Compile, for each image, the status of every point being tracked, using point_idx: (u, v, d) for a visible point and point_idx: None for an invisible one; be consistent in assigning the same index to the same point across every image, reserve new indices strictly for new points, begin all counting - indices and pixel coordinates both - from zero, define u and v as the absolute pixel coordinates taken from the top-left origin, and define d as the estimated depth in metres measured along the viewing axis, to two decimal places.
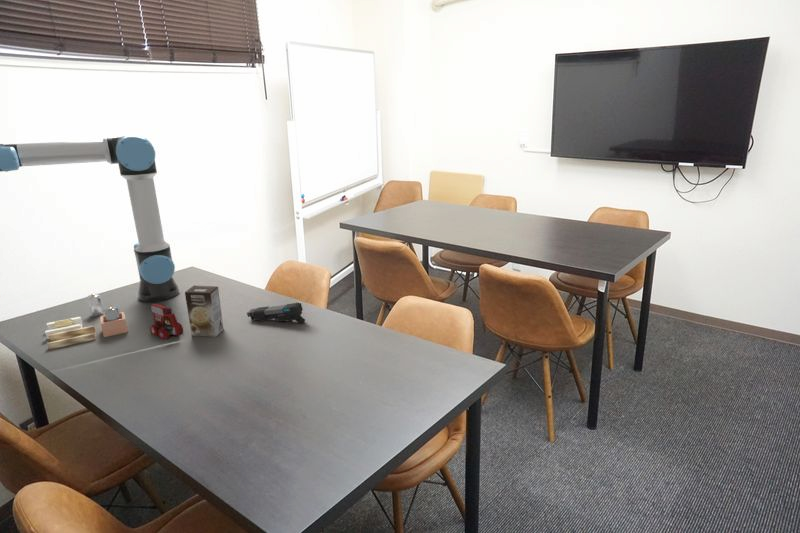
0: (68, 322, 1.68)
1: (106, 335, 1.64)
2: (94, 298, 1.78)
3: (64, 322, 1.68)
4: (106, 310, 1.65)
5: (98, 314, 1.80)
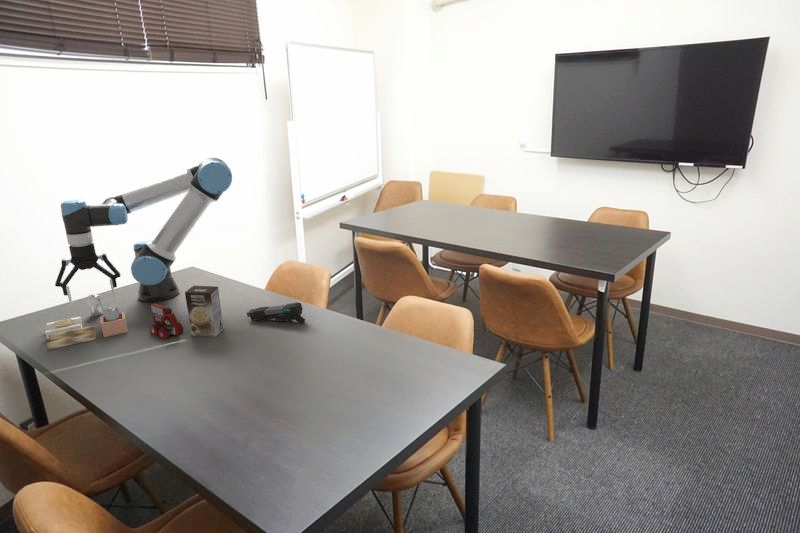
0: (68, 322, 1.68)
1: (106, 335, 1.64)
2: (94, 298, 1.78)
3: (64, 322, 1.68)
4: (106, 310, 1.64)
5: (98, 314, 1.80)
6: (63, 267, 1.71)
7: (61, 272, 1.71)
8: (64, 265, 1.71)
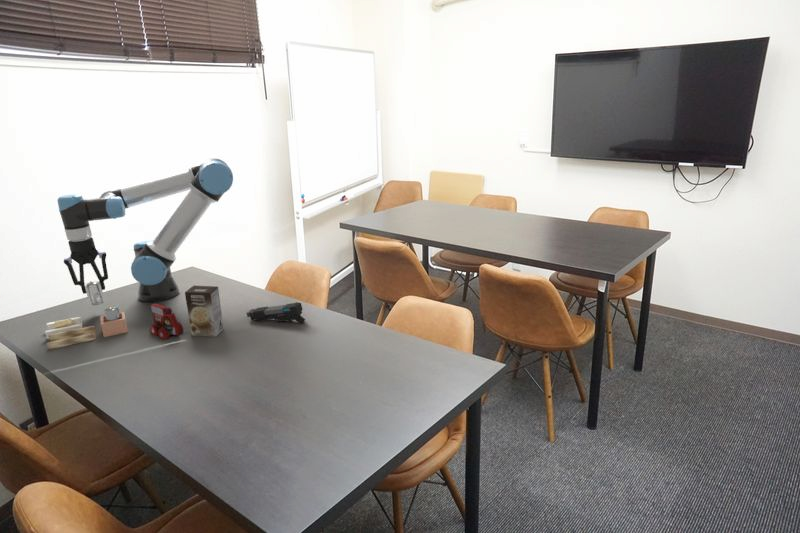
0: (68, 322, 1.68)
1: (106, 335, 1.64)
2: (93, 285, 1.77)
3: (64, 322, 1.68)
4: (106, 310, 1.65)
5: (97, 301, 1.79)
6: (69, 266, 1.72)
7: (71, 271, 1.72)
8: (68, 264, 1.72)
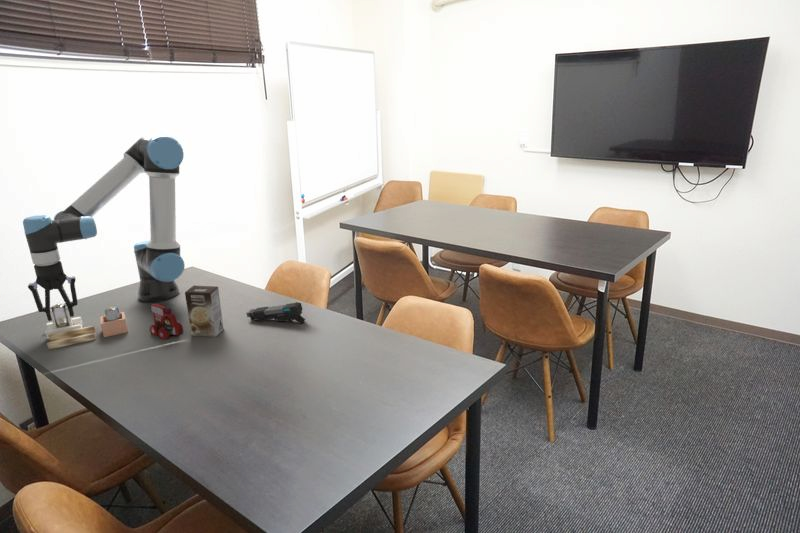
0: None
1: (106, 335, 1.64)
2: (59, 309, 1.64)
3: None
4: (106, 310, 1.65)
5: (63, 326, 1.66)
6: (34, 291, 1.60)
7: (35, 297, 1.61)
8: (33, 289, 1.60)
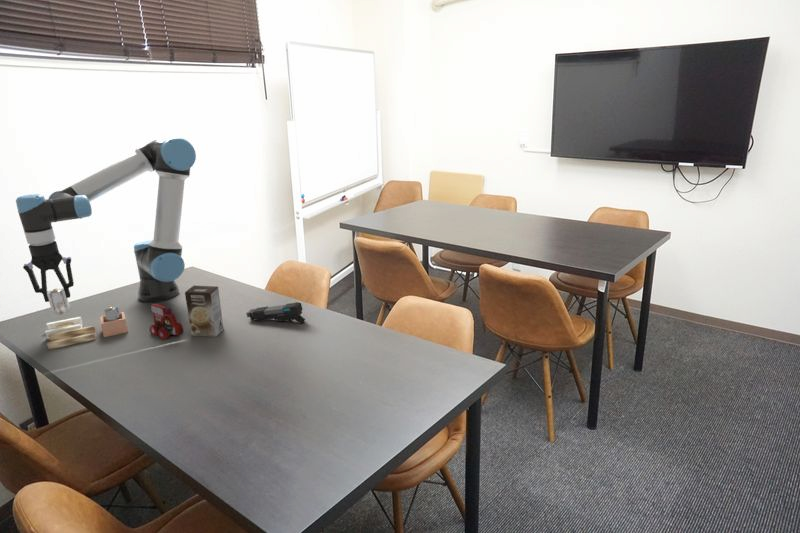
0: None
1: (106, 335, 1.64)
2: (56, 293, 1.63)
3: (65, 326, 1.68)
4: (106, 309, 1.65)
5: (61, 311, 1.65)
6: (29, 272, 1.58)
7: (31, 277, 1.59)
8: (29, 270, 1.58)
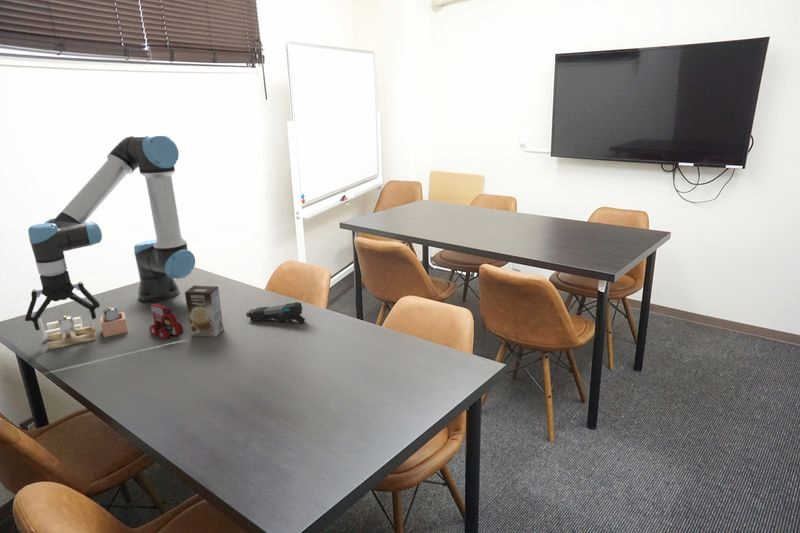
0: None
1: (106, 335, 1.64)
2: (65, 321, 1.58)
3: None
4: (105, 310, 1.64)
5: None
6: (33, 299, 1.52)
7: (31, 305, 1.52)
8: (35, 297, 1.52)
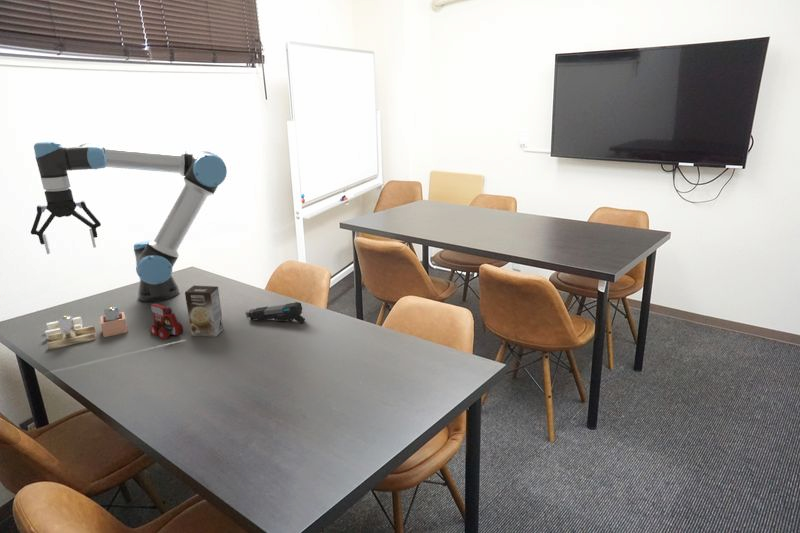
0: None
1: (106, 335, 1.64)
2: (65, 321, 1.58)
3: None
4: (106, 310, 1.64)
5: None
6: (39, 213, 1.62)
7: (37, 219, 1.62)
8: (40, 211, 1.62)
